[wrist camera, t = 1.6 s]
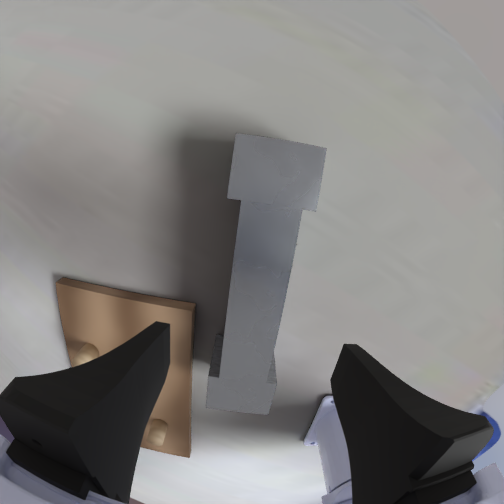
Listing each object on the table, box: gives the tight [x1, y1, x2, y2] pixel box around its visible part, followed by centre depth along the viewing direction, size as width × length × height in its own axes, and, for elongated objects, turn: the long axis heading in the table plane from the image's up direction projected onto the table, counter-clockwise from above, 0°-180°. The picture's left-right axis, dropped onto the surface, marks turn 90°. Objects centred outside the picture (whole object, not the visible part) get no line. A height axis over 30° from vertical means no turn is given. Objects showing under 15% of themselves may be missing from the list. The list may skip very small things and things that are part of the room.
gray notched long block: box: [206, 133, 327, 415], centre depth 18 cm, size 17×4×5 cm, turn 172°
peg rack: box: [56, 277, 196, 458], centre depth 22 cm, size 12×20×4 cm, turn 172°
